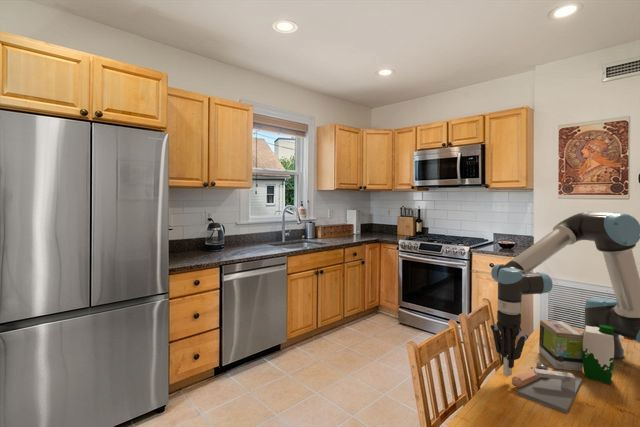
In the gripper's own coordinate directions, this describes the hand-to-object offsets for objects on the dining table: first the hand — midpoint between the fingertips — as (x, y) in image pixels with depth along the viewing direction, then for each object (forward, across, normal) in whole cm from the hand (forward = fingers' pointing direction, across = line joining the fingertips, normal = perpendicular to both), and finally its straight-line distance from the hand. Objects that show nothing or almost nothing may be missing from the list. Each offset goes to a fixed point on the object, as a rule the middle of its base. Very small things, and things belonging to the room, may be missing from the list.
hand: (507, 374), depth 121 cm
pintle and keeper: (+2, +9, +10) cm, 14 cm away
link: (+1, +4, +8) cm, 9 cm away
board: (+3, +9, +10) cm, 14 cm away
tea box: (+3, +1, +34) cm, 35 cm away
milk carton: (+3, +14, +33) cm, 36 cm away
